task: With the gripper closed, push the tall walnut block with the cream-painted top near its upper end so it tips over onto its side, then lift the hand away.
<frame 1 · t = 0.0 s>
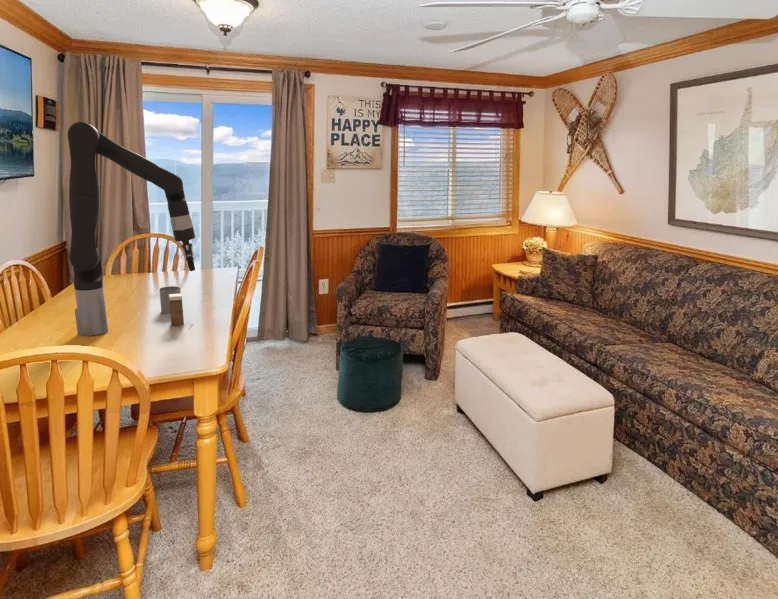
hand: (191, 268, 209), 22 cm above the table, tool pointing down, fingers open, 8 cm apart
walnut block: (177, 324, 213), on the table
cup: (171, 311, 232), on the table
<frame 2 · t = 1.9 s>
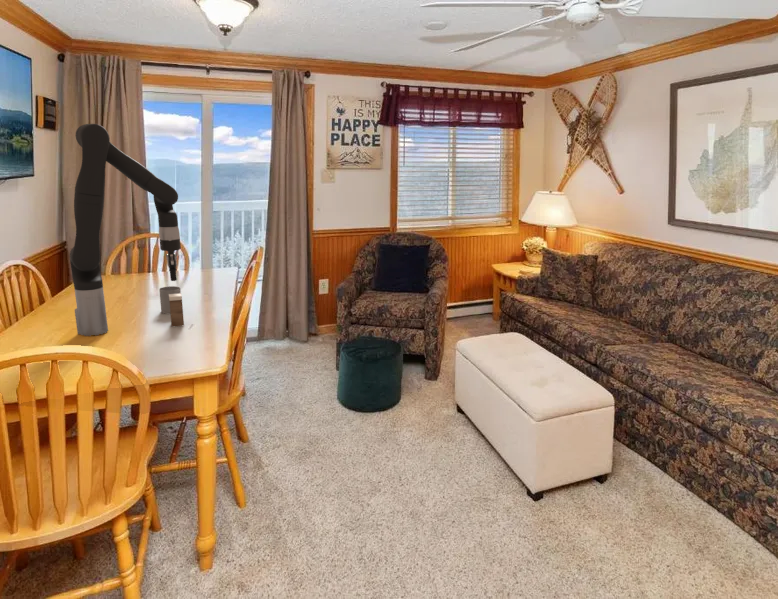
hand: (173, 280, 217), 16 cm above the table, tool pointing down, fingers closed
nothing on the table moved.
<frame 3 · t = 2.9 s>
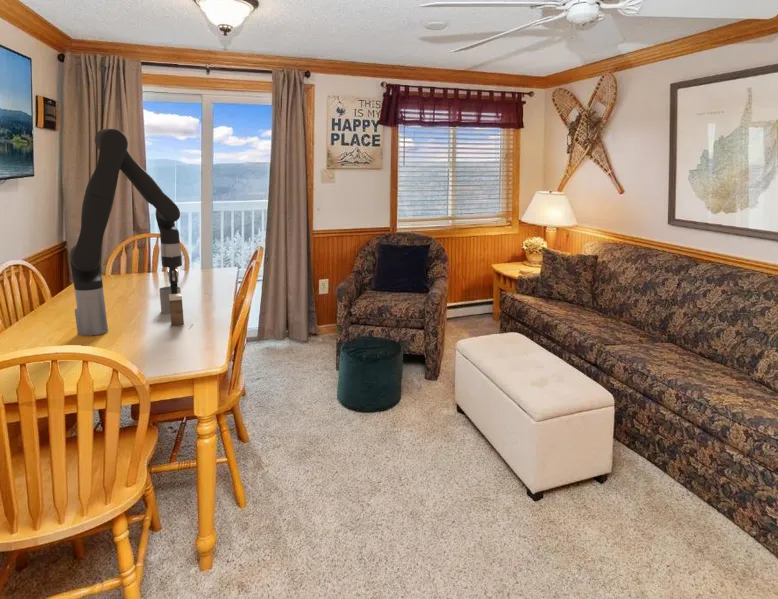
hand: (174, 296, 218), 9 cm above the table, tool pointing down, fingers closed
nothing on the table moved.
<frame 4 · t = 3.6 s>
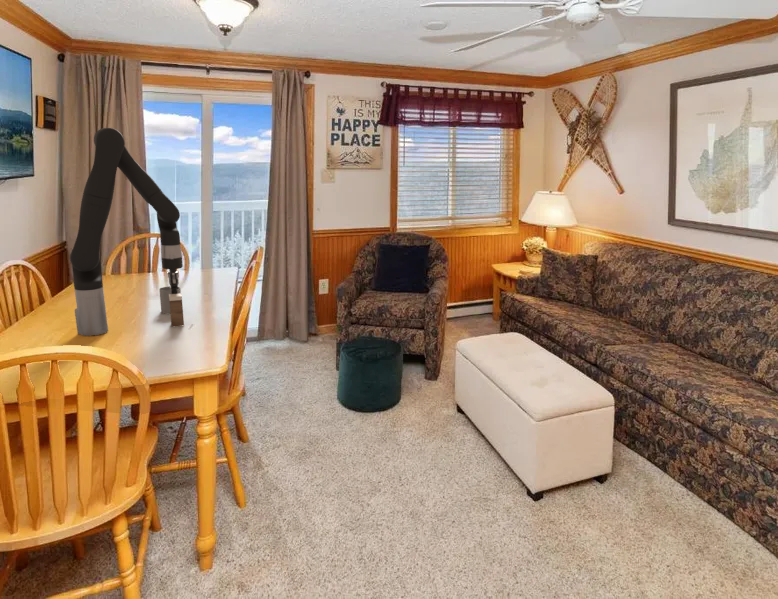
hand: (175, 298, 215), 9 cm above the table, tool pointing down, fingers closed
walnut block: (177, 324, 213), on the table, touching gripper
everything else where it was.
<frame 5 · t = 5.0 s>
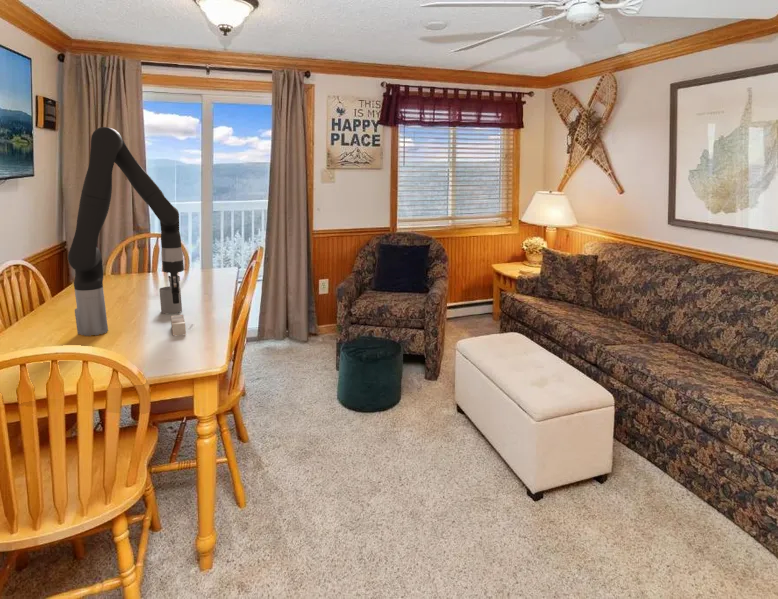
hand: (176, 303, 208), 10 cm above the table, tool pointing down, fingers closed
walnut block: (177, 320, 211), point 2 cm above the table, tilted 90°
everything else where it was.
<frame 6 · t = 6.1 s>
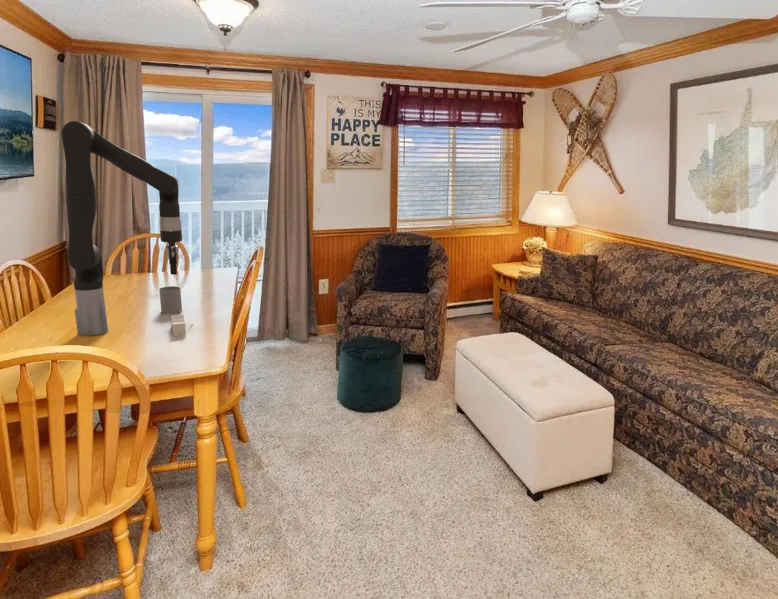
hand: (173, 274, 205), 21 cm above the table, tool pointing down, fingers closed
nothing on the table moved.
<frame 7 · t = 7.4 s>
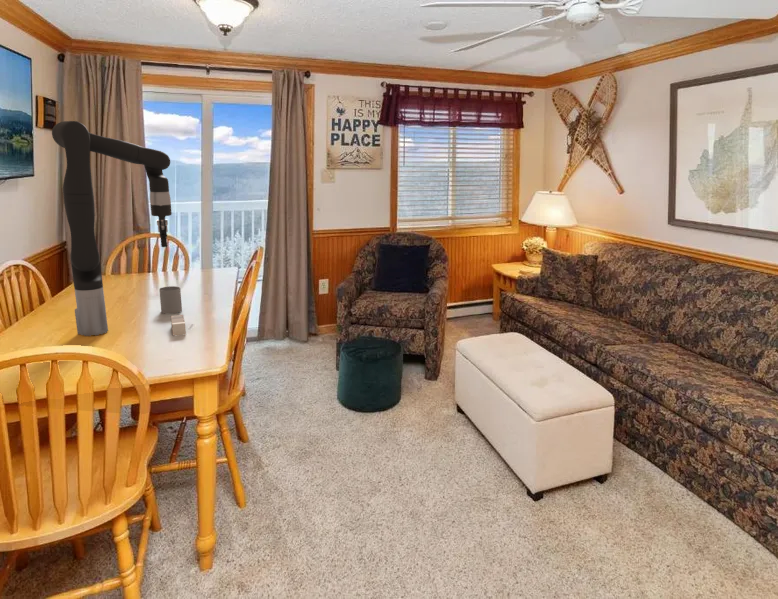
hand: (164, 246, 218), 29 cm above the table, tool pointing down, fingers closed
nothing on the table moved.
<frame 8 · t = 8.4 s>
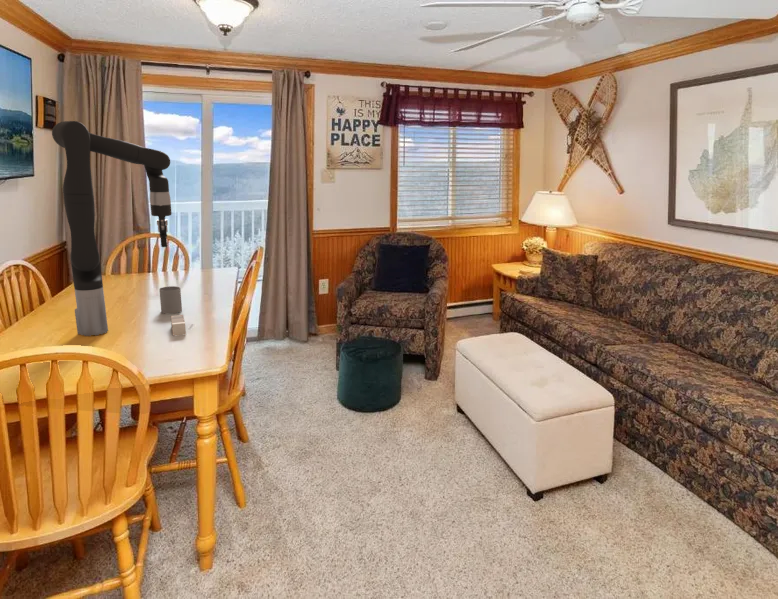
hand: (164, 246, 218), 29 cm above the table, tool pointing down, fingers closed
nothing on the table moved.
at the end: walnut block tilted 90°; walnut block inside the target area (3.3 cm from its centre), point 2.2 cm above the table; cup moved 0.3 cm from its start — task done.
